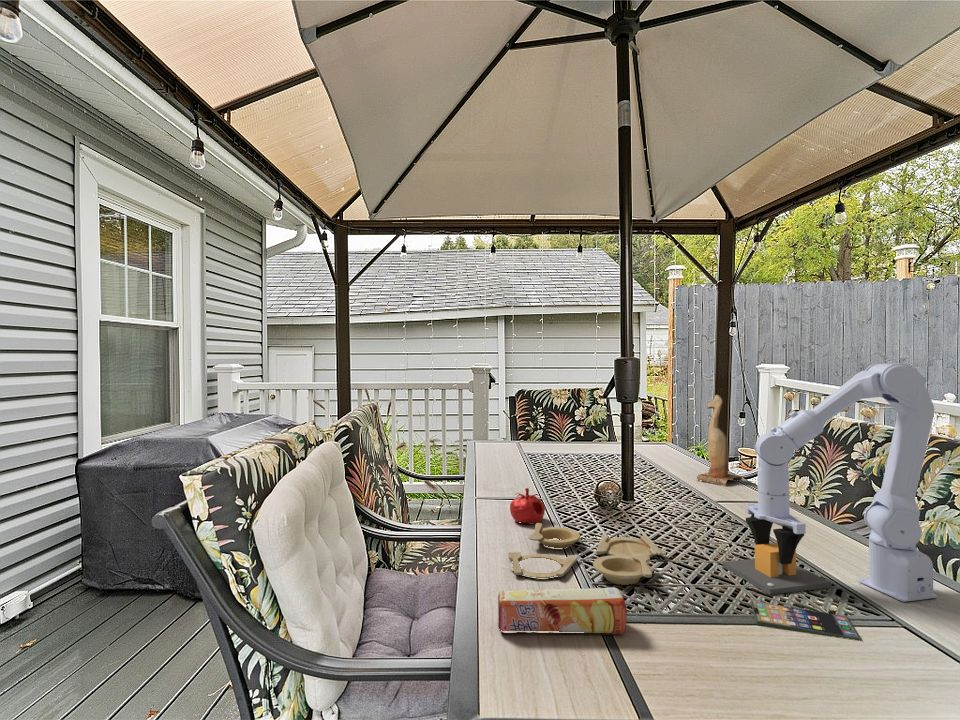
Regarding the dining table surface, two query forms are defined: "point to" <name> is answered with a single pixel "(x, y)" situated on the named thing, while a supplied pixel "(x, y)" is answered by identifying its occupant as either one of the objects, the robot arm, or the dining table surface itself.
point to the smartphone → (803, 620)
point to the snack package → (563, 610)
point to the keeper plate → (777, 578)
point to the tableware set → (616, 568)
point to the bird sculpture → (717, 449)
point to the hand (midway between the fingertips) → (774, 557)
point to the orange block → (772, 560)
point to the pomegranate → (527, 508)
